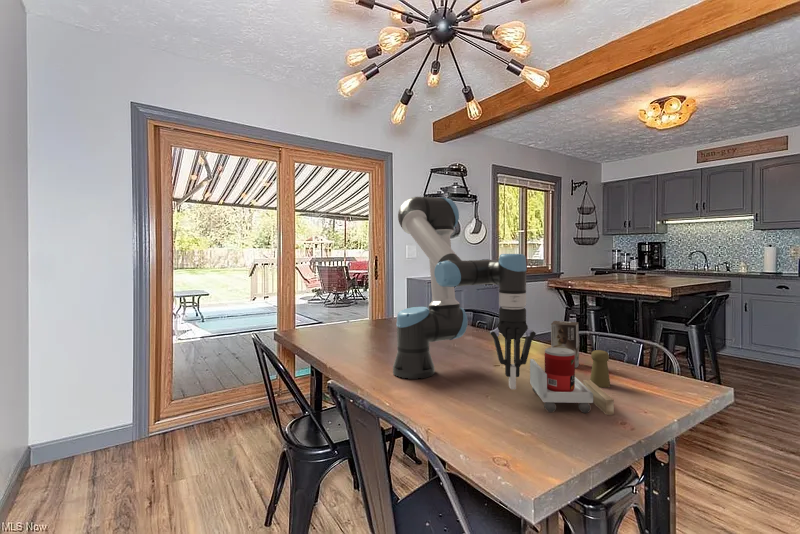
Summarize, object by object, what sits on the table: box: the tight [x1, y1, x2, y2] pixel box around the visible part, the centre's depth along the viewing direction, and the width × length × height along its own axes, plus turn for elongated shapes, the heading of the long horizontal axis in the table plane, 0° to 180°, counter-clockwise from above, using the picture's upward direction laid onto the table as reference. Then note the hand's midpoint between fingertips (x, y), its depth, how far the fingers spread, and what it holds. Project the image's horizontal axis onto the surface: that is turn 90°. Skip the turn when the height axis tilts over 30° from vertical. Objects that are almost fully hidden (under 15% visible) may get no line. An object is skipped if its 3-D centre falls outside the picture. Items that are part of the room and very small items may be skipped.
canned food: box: [544, 347, 576, 392], centre depth 114 cm, size 8×8×11 cm
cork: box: [589, 349, 611, 389], centre depth 128 cm, size 6×6×11 cm
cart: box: [529, 358, 594, 414], centre depth 114 cm, size 13×15×10 cm
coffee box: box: [550, 320, 580, 369], centre depth 150 cm, size 9×6×16 cm
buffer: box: [583, 379, 615, 416], centre depth 113 cm, size 2×16×4 cm, turn 175°
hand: (512, 387), depth 115 cm, fingers closed
